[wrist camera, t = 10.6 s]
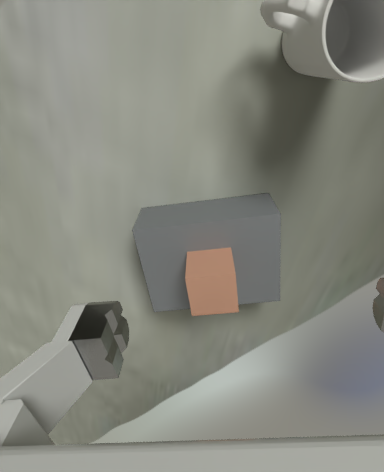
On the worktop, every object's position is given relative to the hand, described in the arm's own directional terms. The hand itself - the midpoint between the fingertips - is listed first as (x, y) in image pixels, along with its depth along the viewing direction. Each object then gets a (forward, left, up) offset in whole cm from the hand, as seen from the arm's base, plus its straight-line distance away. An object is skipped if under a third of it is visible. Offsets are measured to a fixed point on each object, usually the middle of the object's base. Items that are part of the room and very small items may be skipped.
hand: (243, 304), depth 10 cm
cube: (+2, +14, -22) cm, 26 cm away
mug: (-9, -8, -28) cm, 30 cm away
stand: (+2, +14, -28) cm, 31 cm away
